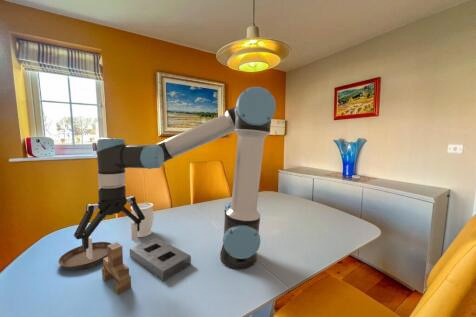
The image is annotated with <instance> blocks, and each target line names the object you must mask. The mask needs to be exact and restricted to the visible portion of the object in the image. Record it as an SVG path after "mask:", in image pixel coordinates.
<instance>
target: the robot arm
mask: <svg viewBox="0 0 476 317" xmlns="http://www.w3.org/2000/svg"><path fill="white" fill-rule="evenodd" d="M235 104H236V105H234V106H233V107H231V108H229V109H227V110H226V111H225V113H224V114H222V115H219V116H218V117H215V118H213V119H211V120H209V121H206V122H203V123H201V124H198V125H196V126H194V127H191V128H190V129H188V130H185V131H182V132H180V133H179V134H176V135H173V136H171V137H169V138H167V139H164V140H163V141H160V142H157V143H155V144H126V141H125V139H124V138H119V137H118V138H115V137H112V138H111V137H110V138H109V137H100V138H98V139H97V143H96V147H97V148H96V155H97V158H96V160H97V180H98V182H97V184H98V187H99V188H97V189H98V192H97V193H98V202H97V203H95V204H94V203H93V204H91V203H87V204H86V207H85V212H84V214H83V217H82V218H81V220H80V222H79V224H78V225H77V228H76V230H75V232H74V233H73V237H74V238H75V239H76V240H81V246H82V247H83V248H84V249H86V255H87V257H88V258H89V260H90V259H93V255H92V243H93V238H92V236H91V235H92V234H93V233H94V231H95V230H96V229H97V227H98V226H99V225H100V223H101V222H102V221H103V219H105V218H106V217H107V216H113V215H114V214H115V215H116V214H120V213H121V212H122V213H123V214H125V215H126V216H127V217H128V218H129V219H130V220H131V219H132V220H133V221H134V222H131V223H130V225H131V228H130V229H131V241H132V242H134V243H137V242H138V237H137V231H139V230H140V223H141V220H144V219H145V217H144V215H143V213H142V212H141V210H140V208H139V207H138V205H137V204H138V203H137V199H136V197H135V196H132V195H129V196H128V197H126V193H127V192H126V190H127V189H126V185H125V184H126V169H130V168H131V169H149V170H152V169H160V168H161V167H162V166H163V164H165V163H167V162H168V161H169V160H172V159H174V158H177V157H179V156H181V155H183V154H185V153H188V152H190V151H193V150H194V149H196V148H197V149H198V148H200V147H202V146H204V145H206V144H209V143H211V142H214V141H216V140H218V139H221V138H223V137H225V136H227V135H229V134H232V133H234V134H237V145H236V153H235V154H236V155H235V164H234V165H235V166H234V175H233V186H232V193H231V194H232V195H231V202H228V203H226V204H225V205H224V209H223V210H224V224H223V237H222V243H223V244H222V246H221V249H220V254H219V260H220V262H221V264H223V265H224V266H226V267H227V268H229V269H237V270H243V268H244V269H247V267H248V268H250V267H252V266H254V265H255V264H256V262H257V260H258V259H257V258H258V253H257V252H258V251H259V249H260V245H261V236H260V233H259V232H260V224H261V213H260V212H259V211H258V210H257V208H258V198H259V190H260V181H261V180H260V179H261V171H262V165H263V164H262V163H263V153H264V144H265V140H266V138H267V136H269V135H270V134H271V125H272V120H273V117H274V116H275V112H276V108H277V107H276V105H277V104H276V100H275V97H274V96H273V94H272V93H271V92H270V91H269V90H268V89H266V88H264V87H261V86H252V87H248V88H246V89H244V91H242V92H241V93H240V94H239V96H238V97H237V100H236V103H235ZM127 203H128V204H130V207H131V206H132V208H133V210H134V211H135V213H136V214H137V216H138V217H136V216H134V215H133V214H132V211H130V210H129V209H127V207H125V206H126V204H127ZM97 209H99V210H98V212H97V213H96V216H95V217H94V218H93V219H92V217H93V214H94V212H96V210H97ZM91 219H92V220H91ZM90 221H91V222H90ZM254 263H255V264H254ZM253 264H254V265H253ZM251 265H252V266H251Z"/></svg>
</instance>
